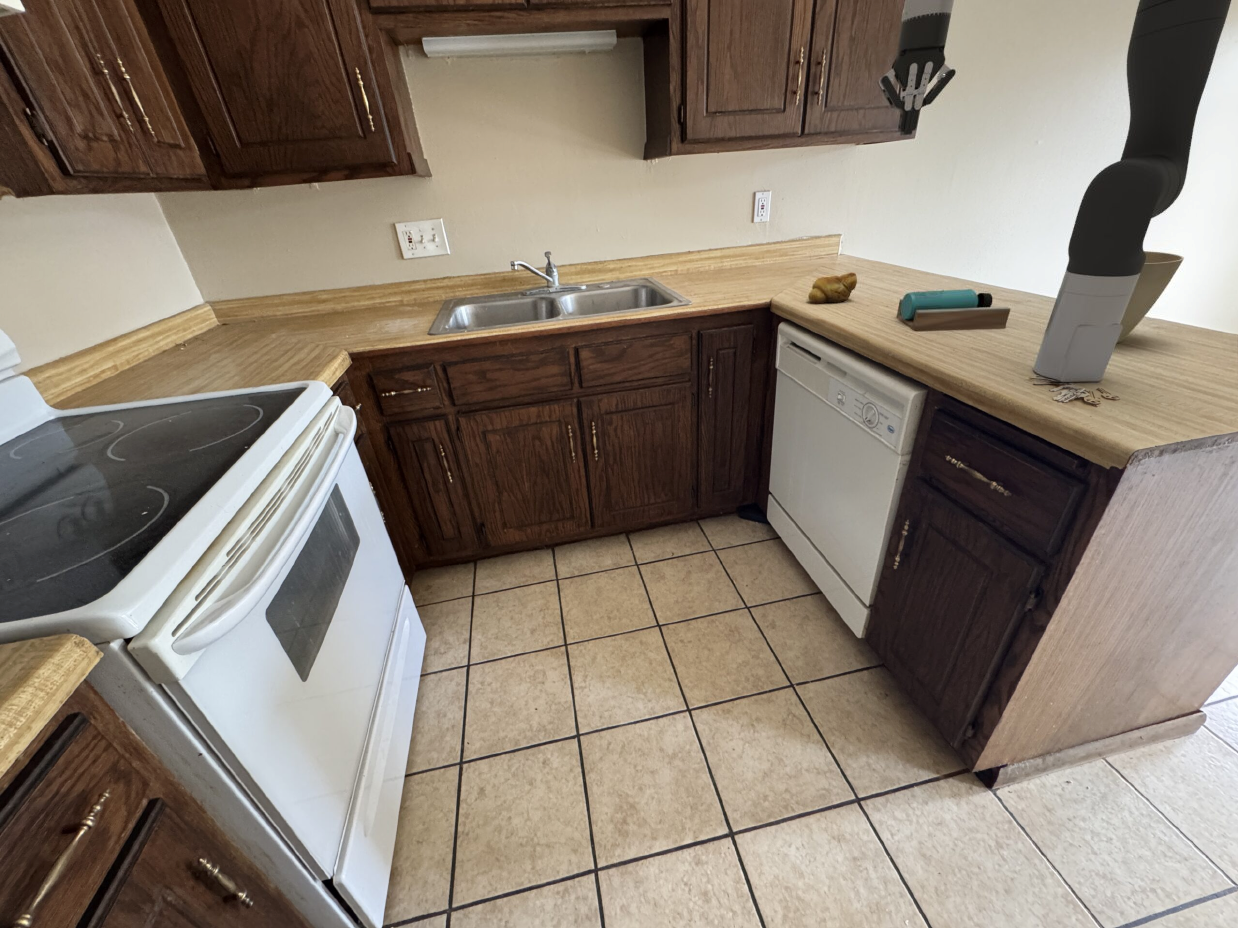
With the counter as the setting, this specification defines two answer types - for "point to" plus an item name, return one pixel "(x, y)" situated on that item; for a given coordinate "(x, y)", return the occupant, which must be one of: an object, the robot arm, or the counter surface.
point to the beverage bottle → (943, 301)
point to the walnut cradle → (957, 318)
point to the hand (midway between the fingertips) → (906, 135)
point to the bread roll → (833, 288)
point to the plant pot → (1149, 288)
